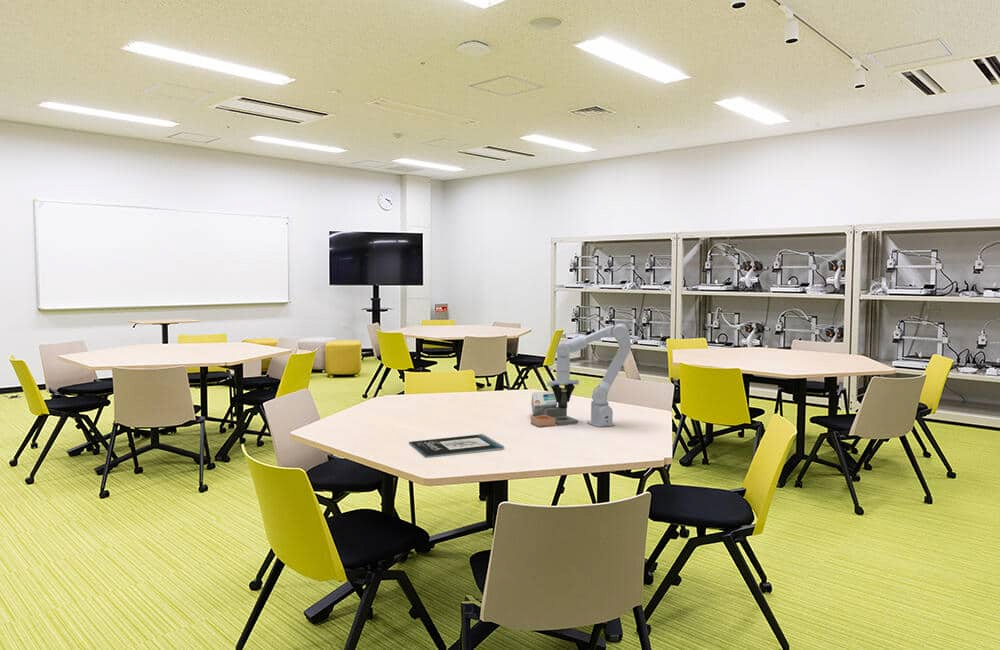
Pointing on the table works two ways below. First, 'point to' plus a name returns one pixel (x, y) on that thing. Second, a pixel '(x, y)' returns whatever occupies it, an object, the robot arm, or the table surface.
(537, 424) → the tray
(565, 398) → the battery cell
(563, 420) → the grey rectangular holed block
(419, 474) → the table surface
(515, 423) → the table surface
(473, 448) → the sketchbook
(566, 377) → the robot arm
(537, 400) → the light bulb box
